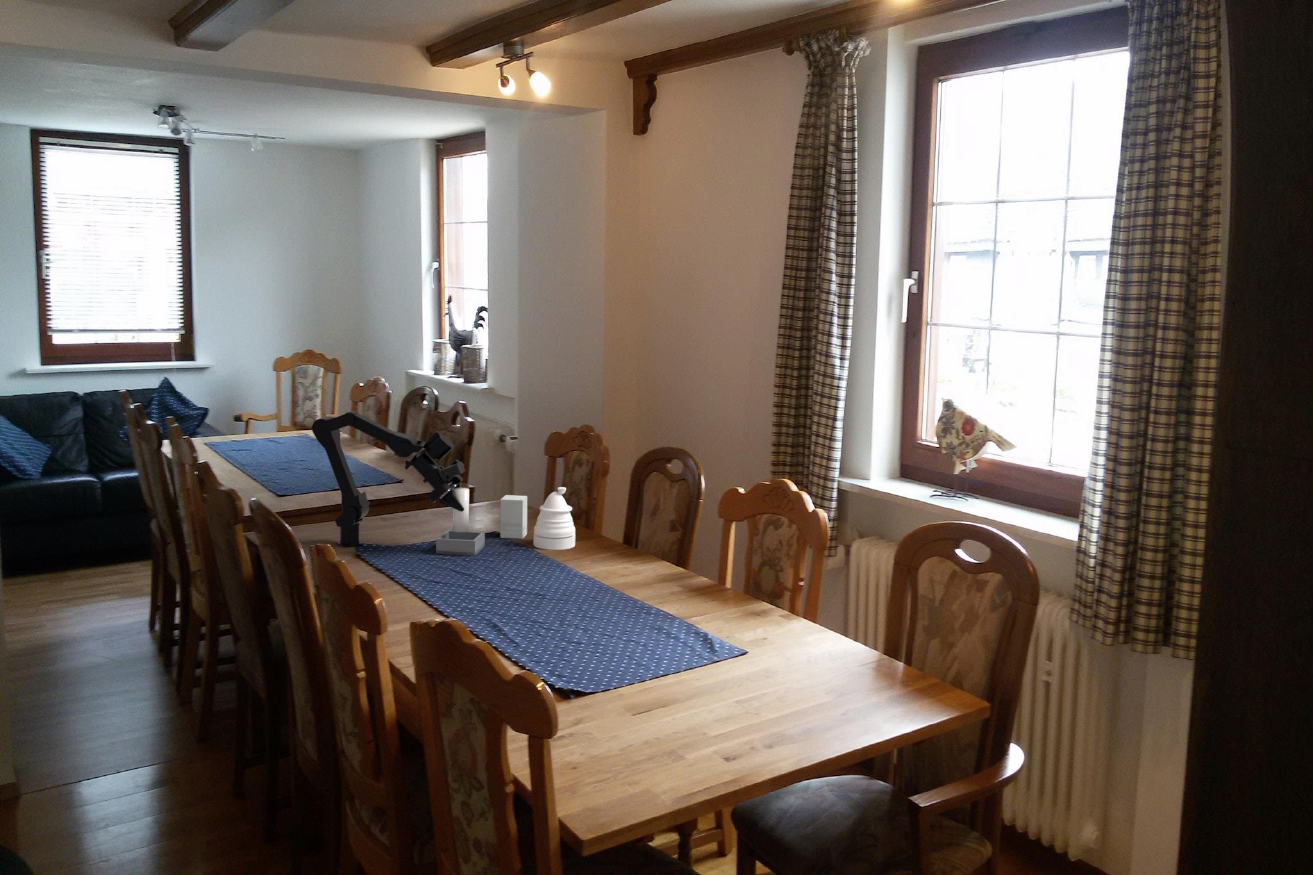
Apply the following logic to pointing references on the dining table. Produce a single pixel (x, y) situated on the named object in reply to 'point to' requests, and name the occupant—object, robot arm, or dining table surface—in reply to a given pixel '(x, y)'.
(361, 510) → the robot arm
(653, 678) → the dining table surface
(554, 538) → the honey pot
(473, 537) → the grey crate
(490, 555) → the dining table surface
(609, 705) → the dining table surface
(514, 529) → the supplement box
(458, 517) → the ceramic pillar
